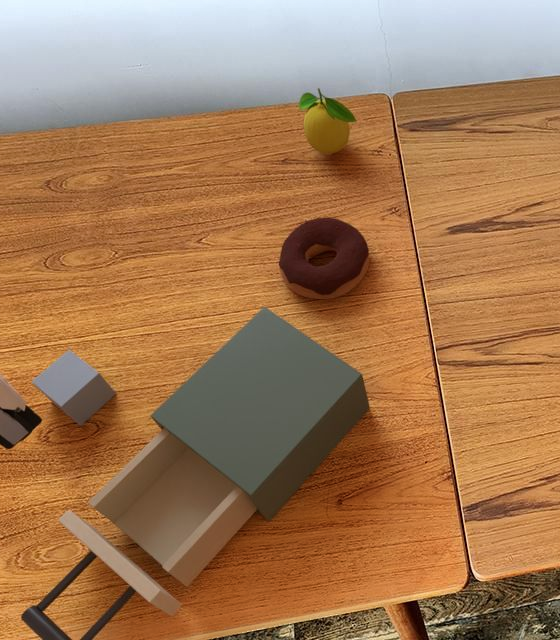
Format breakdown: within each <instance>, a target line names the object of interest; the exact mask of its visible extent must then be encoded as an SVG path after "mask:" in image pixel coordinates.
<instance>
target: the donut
mask: <svg viewBox="0 0 560 640" xmlns="http://www.w3.org/2000/svg"><path fill="white" fill-rule="evenodd" d="M329 251H330V252H335V253H336V255H335V257H334V258H333V259H332V260H331V261H330V262H328V263H326V264H325V265H319V266H317V265H316V266H315V265H313V264H311V263H310V261H309V260H310V259H312V258H313V257H315V256H317V255H320V254H322V253H325V252H329ZM369 262H370V249H369V245H368V242H367V241H366V238H365V237H364V235H363V234H362V233H361V232H360V231H359V229H357V228H356V227H355V226H353V225H352V224H350V223H348V222H346V221H343V220H342V219H338V218H334V217H329V216H328V217H318V218H314V219H309V220H306V221H304V222H303V223H302V224H300V225H298V226H297V227H296V228H295V229H293V230H292V231H291V232H290V234H289V235H288V236H287V237H286V238H285V240H284V241H283V243H282V244H281V250H280V256H279V260H278V267H279V272H280V276H281V279H282V281H283V282H284V284H285V285H286V286H287V287H288V288H289V289H290V290H291V291H293V292H294V293H296V294H298V295H299V296H302V297H305V298H309V299H315V300H326V299H335V298H338V297H339V298H340V297H343V296H344V295H346V294H347V293H349V292H350V291H352V290H353V289H354V288H355V287H356V286H357V285H358V284H359V283H360V282H361V281H362V280H363V278H364V276H365V275H366V274H367V272H368V269H369V264H370V263H369Z"/></svg>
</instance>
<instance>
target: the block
mask: <svg viewBox="0 0 560 640" xmlns="http://www.w3.org/2000/svg"><path fill="white" fill-rule="evenodd" d="M30 382H31V384H32V385H33V386H35V387H36V389H38V391H39V392H41V393H42V394H43V395H44V396H45V397H46V398H47V399H48V400H49V401H50V402H51V403H52V404H54V405H55V406H56V407H57V408H58V409H60V411H62V412H63V413H64V414H65V415H67V416H68V417H69V418H70V419H72V420H73V421H74V422H75V423H76V424H78V425H79V426H84V424H85V423H86V422H87V421H88V420H90V418H92V416H94V415H95V414H96V413H97V412H98V411H100V409H101V408H102V407H103V406H105V405H106V404H107V403H108V402H109V401H111V399H112V398H113V397H114V396H116V395H117V392H116V391H115V390H114V389H113V388H112V386H111V385H110V384H109V383H108V382H107V380H106V379H105V378H104V377H103V376H102V375H101V373H100V372H99V371H97V370H96V369H95V368H93V367H92V366H91V365H90V364H89V363H87V362H86V361H85V360H84V359H82V358H81V357H80V356H78V355H77V354H76V353H75V352H73V351H72V350H71V349H68V350H67V351H65V352H64V353H63V354H62V355H61V356H60V357H58V358H57V359H56V360H55V361H54V362H52V363H51V364H50V365H49V366H48V367H46V368H45V369H44V370H43V371H42V372H41V373H40V374H39V375H37V376H36V377H35V378H34V379H32V380H31V381H30Z"/></svg>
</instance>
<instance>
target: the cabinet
mask: <svg viewBox="0 0 560 640" xmlns="http://www.w3.org/2000/svg"><path fill="white" fill-rule="evenodd" d="M364 380H365V379H364V376H363V373H362V372H360V371H359V370H357V369H356V368H354V367H353V366H352V365H351V364H350V363H349V364H348V363H347V362H346V361H344V360H343V359H341V358H340V357H338V356H337V355H336V354H334V353H333V352H331V351H330V350H328V349H327V348H325V347H324V346H322V345H321V344H320V343H319V342H317V341H315V340H314V339H312V338H311V337H310V336H308V335H306V334H305V333H303V332H302V331H301V330H299V329H297V327H295V326H293V324H290V323H289V322H288V321H286V320H284V318H282V317H280V316H279V315H278V314H276V313H275V312H273V311H272V310H270V309H269V308H267V307H266V306H263V308H261V309H260V310H259V311H258V312H257V313H256V314H255V315H254V316H253V317H252V318H251V319H250V320H249V321H248V322H246V324H245V325H244V326H242V327H241V328H240V329H239V330H238V331H237V332H236V333H234V335H233V336H232V337H231V338H230V339H229V340H228V341H226V343H224V344H223V346H221V347H220V348H219V349H218V350H217V351H216V352H215V353H214V354H213V355H212V356H211V357H210V358H209V359H208V360H207V361H206V362H205V363H203V365H202V366H200V368H198V369H197V370H196V371H195V372H193V374H192V375H191V376H189V378H188V379H186V380H185V382H184V383H183V384H181V385H180V386H179V387H178V388H177V389H176V390H175V391H174V392H173V393H172V394H171V395H170V396H169V397H168V398H167V399H165V401H163V402H162V403H161V405H159V406H158V407H157V408H156V409H155V410H154V411H153V412H152V413H150V418H151V419H152V420H153V421H154V423H156V425H157V426H158V427H159V429H160V431H162V430H163V429H164V428H165V429H166V430H167V431H168V432H170V433H171V434H172V435H173V436H175V437H176V438H177V439H179V440H180V441H181V442H182V443H184V444H185V445H186V446H187V447H189V448H190V449H191V450H192V451H194V452H195V453H196V454H197V455H199V456H200V457H201V458H202V459H204V460H205V461H206V462H208V463H209V464H210V465H211V466H213V467H214V468H215V469H216V470H218V471H219V472H220V473H221V474H223V475H224V476H225V477H226V478H228V479H229V480H230V481H231V482H233V483H234V484H235V485H237V486H238V487H239V488H240V489H242V490H243V491H244V492H245V493H247V495H248V496H249V498H250V499H251V500H252V502H253V503H254V505H255V506H256V507H257V510H256V511H255V513H257V514H259V515H260V516H261V517H262V518H263V519H264V520H266V521H267V522H271V521H272V520H273V519H274V517H275V516H276V515H277V514H278V513H279V512H280V511H281V510H282V509H283V507H284V506H285V505H286V504H287V503H288V502H289V501H290V499H291V498H292V497H293V496H294V495H295V494H296V493H297V491H298V490H299V489H300V488H301V487H302V486H303V485H304V484H305V482H306V481H307V480H308V479H309V478H310V477H311V476H312V475H313V473H314V472H315V471H316V470H317V469H318V468H319V466H320V465H321V464H322V463H323V462H324V461H325V460H326V459H327V458H328V456H329V455H330V454H331V453H332V452H333V451H334V449H336V448H337V446H338V445H339V444H340V443H341V442H342V440H343V439H344V438H345V437H347V435H348V434H349V432H350V431H351V430H353V428H354V427H355V426H356V424H357V423H358V422H359V421H360V420H361V419H362V418H363V417H364V416H365V414H366V413H367V412H368V411H369V410H370V409H371V408H370V403H369V398H368V393H367V390H366V385H365V384H366V383H365V381H364Z"/></svg>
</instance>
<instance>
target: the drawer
mask: <svg viewBox="0 0 560 640" xmlns="http://www.w3.org/2000/svg"><path fill="white" fill-rule="evenodd" d="M87 504H88V505H90V506H91V507H92V508H93V509H94V510H96V511H97V512H99V514H101V515H103V517H105V519H107V520H108V521H110V522H111V523H112V524H114V525H115V526H116V527H117V528H118V529H120V531H121V532H123V533H124V534H125V535H127V537H129V538H130V539H131V540H132V541H133V542H135V543H136V544H137V545H138V546H139V547H140V548H141V549H142V550H144V551H145V552H146V553H147V554H148V555H149V556H151V558H153V559H154V560H155V561H156V562H157V563H158V564H160V565H161V568H162V569H163V570H164V571H166V573H168V574H170V576H172V577H173V578H175V579H176V580H177V581H178V582H180V583H181V584H183V585H184V586H185V587H186V588H188V587H189V586H190V585H191V584H192V583H193V581H195V579H197V577H198V576H199V575H200V573H201V572H202V571H203V570H205V568H206V567H207V566H208V565H209V564H210V563H211V562H212V560H213V559H214V558H215V557H216V556H217V555H218V554H219V553H220V552H221V550H223V548H224V547H225V546H226V545H227V544H228V542H230V540H231V539H232V538H233V537H234V536H235V535H236V534H237V533H238V531H239V530H240V529H241V528H242V527H243V526H244V525H245V524H246V522H247V521H248V520H250V518H251V517H252V516H253V515H254V514H255V513H256V510H257V507H256V506H255V505H254V503H253V502H252V500H251V499H250V498H249V496H248V495H247V493H245V492H244V491H243V490H242V489H240V488H239V487H238V486H237V485H235V484H234V483H233V482H231V481H230V480H229V479H228V478H226V477H225V476H224V475H223V474H221V473H220V472H219V471H218V470H216V469H215V468H214V467H213V466H211V465H210V464H209V463H208V462H206V461H205V460H204V459H202V458H201V457H200V456H199V455H197V454H196V453H195V452H194V451H192V450H191V449H190V448H189V447H187V446H186V445H185V444H184V443H182V442H181V441H180V440H179V439H177V438H176V437H175V436H173V435H172V434H171V433H170V432H168V431H167V430H166V429H165V428H164V429H163V430H160V431H159V432H158V433H157V434H156V436H154V437H153V438H152V439H151V440H150V441H149V442H148V443H147V444H145V446H144V447H142V449H141V450H140V451H139V452H137V454H136V455H134V457H133V458H131V459H130V461H129V462H127V463H126V464H125V466H124V467H123V468H121V469H120V470H119V471H118V472H117V473H116V474H115V475H114V476H113V477H112V478H111V479H110V480H109V481H108V482H107V483H106V484H105V485H103V487H102V488H101V489H100V490H99V491H98V492H96V493H95V495H94V496H92V498H90V499H89V500H88V501H87ZM57 522H59V524H61V525H62V526H63V527H64V528H65V529H66V530H68V531H69V532H70V533H71V534H72V535H73V536H74V537H75V538H77V539H78V541H80V542H81V543H82V544H83V545H84V546H85V547H86V548H88V550H90V551H89V552H88V553H87V554H86V555H84V557H83V558H82V559H81V560H80V561H79V562H78V563H77V564H76V565H75V566H74V567H73V568H72V569H70V571H69V572H68V573H67V574H66V575H65V576H64V577H63V578H62V579H61V580H60V581H59V582H58V583H57V584H56V586H54V587H53V588H52V590H50V591H49V592H48V593H47V594H46V595H45V596H44V597H43V598H42V600H41V601H40V602H38V603H37V605H35V604H34V605H31V606H29V607H28V608H26V609H25V610H24V611H23V612H22V614H21V617H20V619H21V621H22V622H23V623H24V624H25V625H27V627H28V628H30V629H31V631H32V632H33V633H34V634H36V635H37V636H38V637H39V638H40V639H41V640H73V639H72V638H71V637H70V636H69V635H68V634H67V633H66V632H65V631H64V630H63V629H62V628H61V627H59V625H58V624H57V623H55V622H54V620H52V619H51V617H49V616H48V614H46V613H45V611H46V610H47V609H48V607H50V606H51V605H52V604H53V603H54V602H55V601H56V600H57V598H59V596H60V595H61V594H62V593H63V592H64V591H66V589H67V588H68V587H69V586H70V585H71V584H72V583H74V582H75V580H76V579H77V578H78V577H79V576H81V574H82V573H83V572H84V571H85V570H86V569H87V568H88V567H89V566H90V565H91V564H92V563H93V562H94V561H95V560H96V559H97V558H99V559H100V560H101V561H102V562H103V563H104V564H105V565H106V566H108V568H109V569H111V570H112V571H113V572H114V573H115V574H116V575H118V576H119V577H120V578H121V579H122V580H123V581H124V582H125V583H127V584H128V585H129V587H128V588H127V589H126V590H125V591H124V592H123V593H122V594H121V595H120V596H119V598H117V599H116V601H115V602H113V603H112V605H111V606H110V607H109V608H108V609H107V610H106V611H105V612H104V613H103V614H102V615H101V617H99V618H98V620H96V622H94V624H93V625H92V626H91V627H90V628H89V629H88V630H87V631H86V632H85V633H84V634H83V635H82V636H81V638H79V640H94V638H96V636H97V635H98V634H99V633H100V632H101V631H102V630H104V628H105V627H106V626H107V625H108V624H109V622H110V621H111V620H112V619H113V618H114V617H115V616H116V615H117V614H118V613H119V612H120V611H121V609H122V608H123V607H124V606H125V605H126V604H127V603H128V602H129V601H130V600H131V599H132V598H133V596H134V595H136V594H137V593H138V595H140V596H141V598H143V599H144V600H146V602H148V603H149V604H151V605H152V606H154V607H155V608H157V609H159V610H160V611H162V612H163V613H165V614H167V615H168V616H170V617H173V616H175V614H176V613H177V612H178V611H179V610H180V609H181V608H182V606H183V604H182V603H181V602H180V601H178V599H176V598H175V597H174V596H173V595H172V594H171V593H170V592H168V591H167V590H166V589H165V588H164V587H163V586H161V584H159V583H158V582H157V581H156V580H155V579H154V578H153V577H152V576H150V575H149V573H147V572H146V571H145V570H143V569H142V568H141V567H140V566H139V565H138V564H137V563H136V562H134V561H133V560H132V559H131V558H130V557H129V556H128V555H126V553H124V551H123V550H121V549H120V548H118V547H117V546H116V545H115V544H114V543H113V542H112V541H110V540H109V538H107V537H106V536H105V535H104V534H102V533H101V531H99V530H98V529H97V528H95V527H94V526H93V525H92V524H90V523H89V522H88V521H86V520H84V519H83V518H82V517H80V516H79V515H78V514H76V513H75V512H74V511H72V510H70V509H68V510H66V511H65V512H64V513H63V514H62V515H61V516H60V517H59V518H58V519H57Z"/></svg>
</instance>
